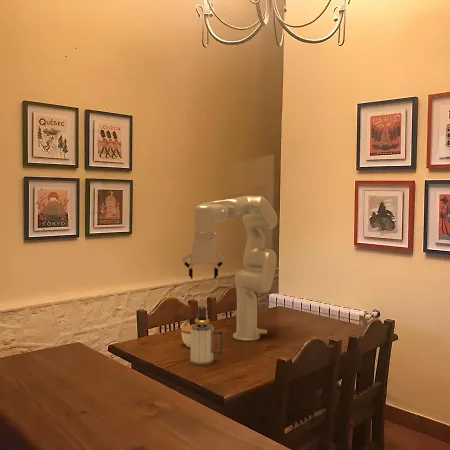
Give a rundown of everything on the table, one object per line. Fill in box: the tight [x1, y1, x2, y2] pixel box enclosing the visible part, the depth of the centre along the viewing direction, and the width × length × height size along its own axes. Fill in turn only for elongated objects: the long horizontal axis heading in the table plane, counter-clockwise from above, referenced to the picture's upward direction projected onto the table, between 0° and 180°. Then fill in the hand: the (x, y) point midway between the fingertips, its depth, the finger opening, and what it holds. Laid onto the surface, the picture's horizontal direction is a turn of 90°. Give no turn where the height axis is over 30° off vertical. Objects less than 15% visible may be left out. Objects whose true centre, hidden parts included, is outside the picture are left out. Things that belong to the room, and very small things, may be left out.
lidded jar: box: [180, 324, 193, 349], centre depth 220 cm, size 11×11×9 cm
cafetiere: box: [189, 323, 223, 366], centre depth 199 cm, size 13×9×14 cm
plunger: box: [194, 305, 210, 327], centre depth 198 cm, size 6×6×20 cm
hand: (203, 278), depth 202 cm, fingers open, 9 cm apart
